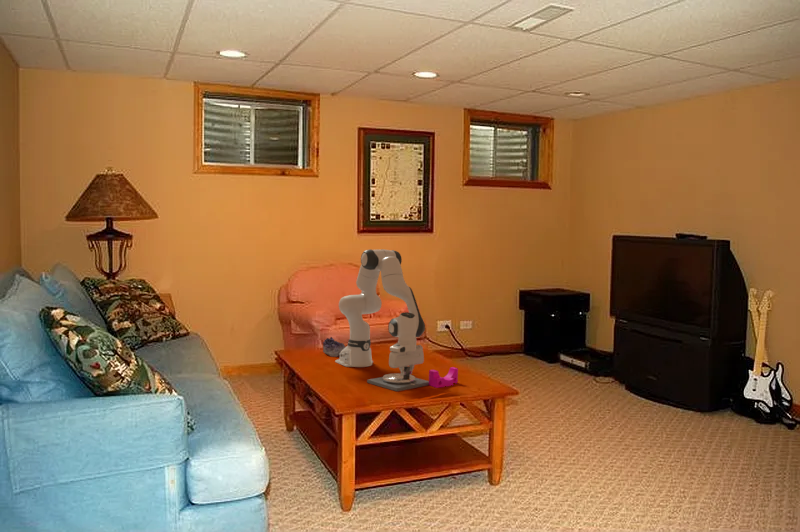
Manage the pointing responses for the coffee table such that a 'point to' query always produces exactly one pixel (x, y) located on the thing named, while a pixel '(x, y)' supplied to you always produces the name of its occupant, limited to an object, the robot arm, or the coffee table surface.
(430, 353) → the coffee table surface
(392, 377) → the dial
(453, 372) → the toy block
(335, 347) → the geode
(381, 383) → the dial plate
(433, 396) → the coffee table surface
